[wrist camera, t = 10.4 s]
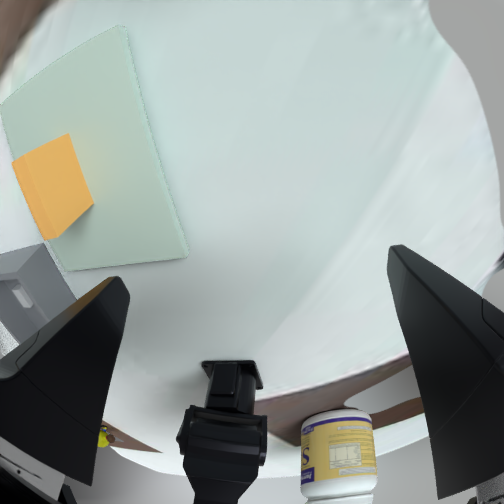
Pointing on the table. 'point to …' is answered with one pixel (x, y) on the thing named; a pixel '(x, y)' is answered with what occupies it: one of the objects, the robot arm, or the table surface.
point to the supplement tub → (338, 458)
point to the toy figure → (105, 438)
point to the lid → (92, 160)
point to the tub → (30, 291)
